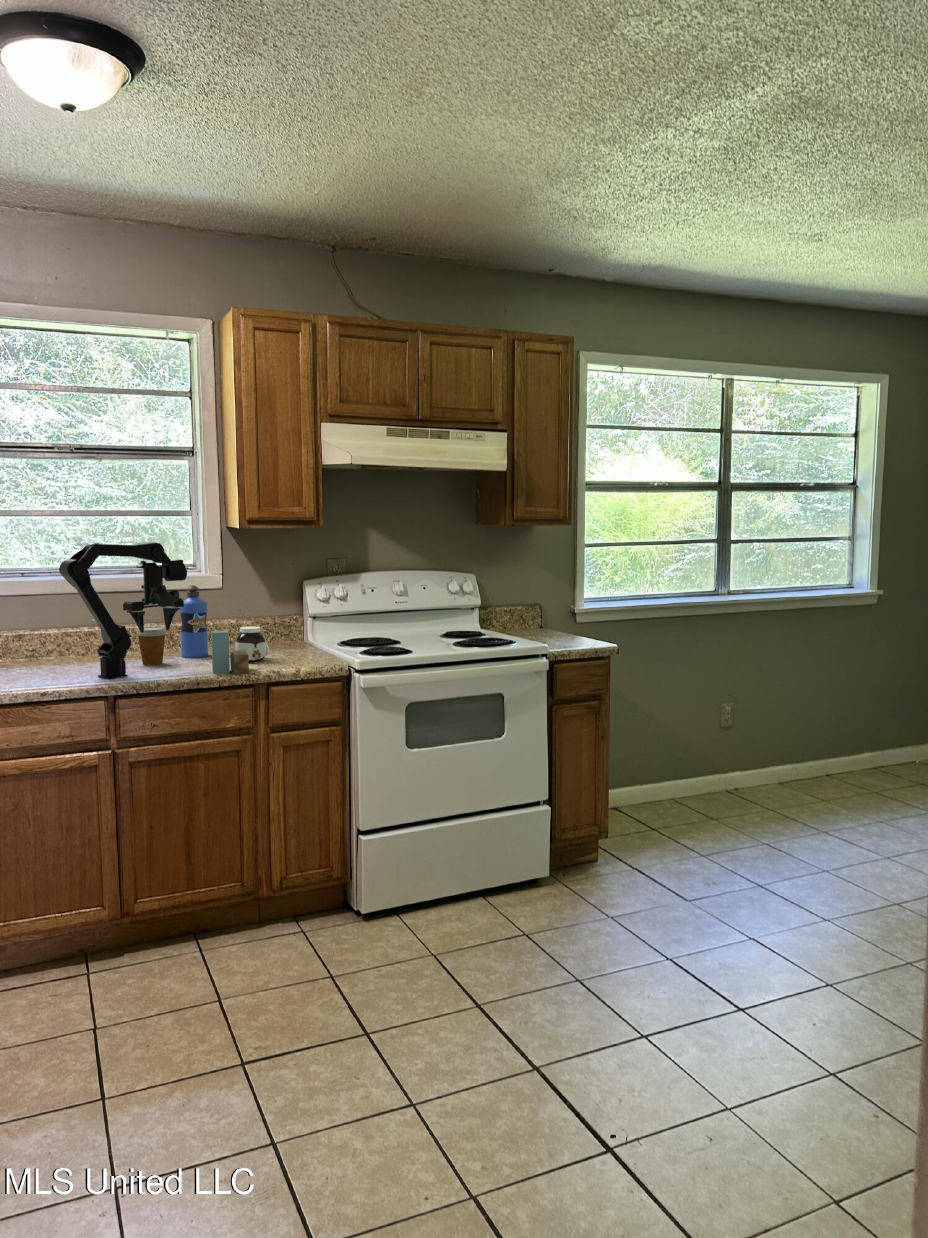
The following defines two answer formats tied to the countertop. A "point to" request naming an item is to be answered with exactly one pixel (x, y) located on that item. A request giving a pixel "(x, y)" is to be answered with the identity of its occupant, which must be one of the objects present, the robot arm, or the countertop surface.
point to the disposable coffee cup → (152, 645)
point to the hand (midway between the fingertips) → (155, 631)
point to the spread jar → (252, 643)
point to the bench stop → (239, 662)
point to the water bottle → (194, 626)
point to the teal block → (220, 652)
